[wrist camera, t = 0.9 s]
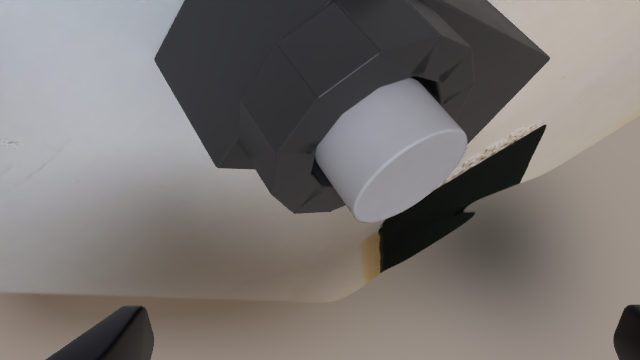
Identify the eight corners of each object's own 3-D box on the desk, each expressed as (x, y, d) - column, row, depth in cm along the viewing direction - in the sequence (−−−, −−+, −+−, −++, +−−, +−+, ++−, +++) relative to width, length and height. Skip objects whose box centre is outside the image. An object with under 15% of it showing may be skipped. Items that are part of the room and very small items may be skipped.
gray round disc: (290, 168, 15) (329, 227, 14) (370, 64, 13) (421, 124, 12) (368, 171, 17) (405, 220, 16) (443, 85, 16) (489, 135, 15)
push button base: (131, 55, 17) (225, 224, 14) (237, -159, 14) (390, 0, 11) (379, 104, 28) (464, 208, 24) (473, -12, 24) (587, 91, 21)
